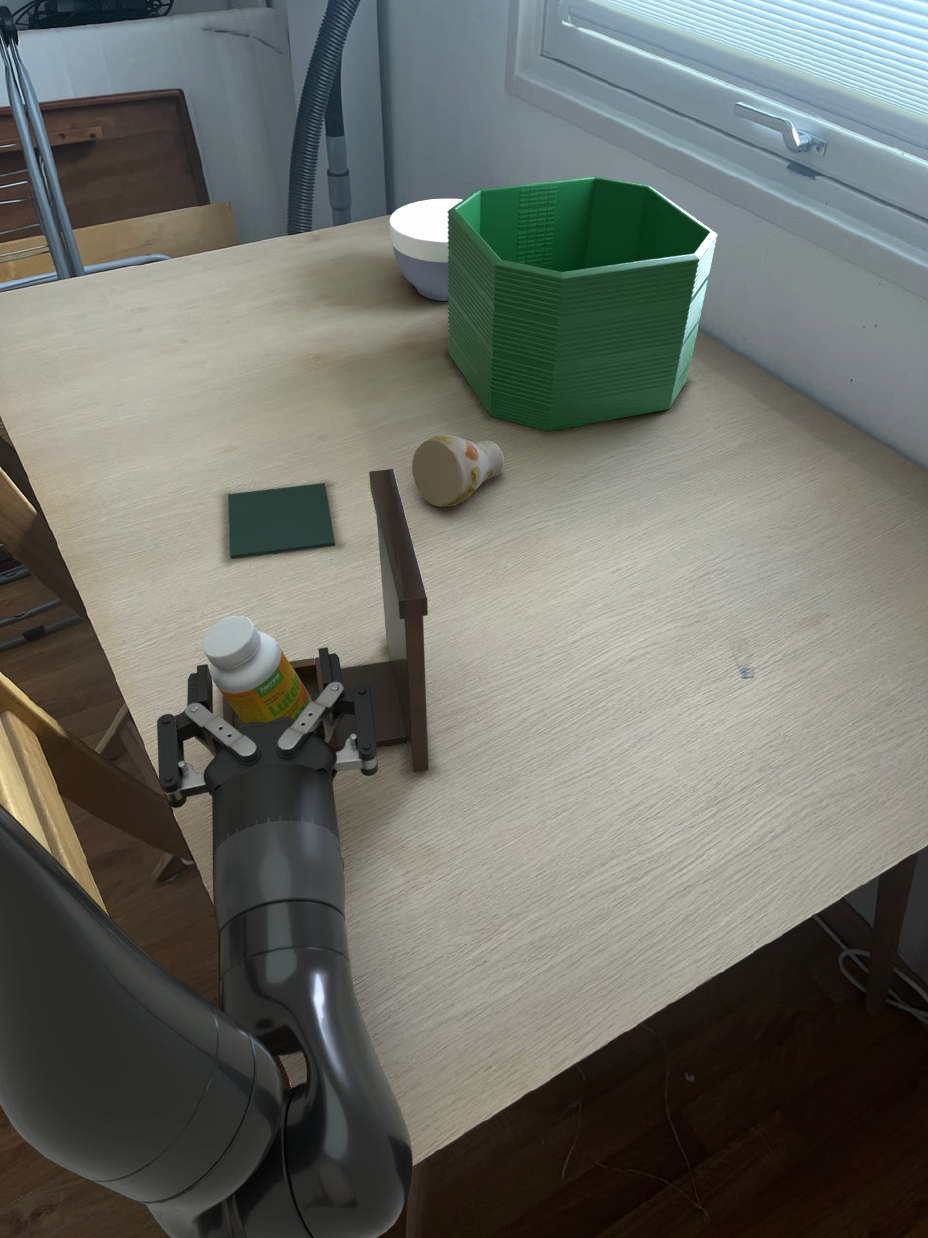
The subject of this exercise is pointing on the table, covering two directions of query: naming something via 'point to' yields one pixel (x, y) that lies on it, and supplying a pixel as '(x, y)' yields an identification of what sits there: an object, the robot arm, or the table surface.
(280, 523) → the rubber mat
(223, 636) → the supplement bottle
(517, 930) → the table surface
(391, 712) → the stand
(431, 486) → the fruit print bud vase
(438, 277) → the bowl
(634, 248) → the planter
